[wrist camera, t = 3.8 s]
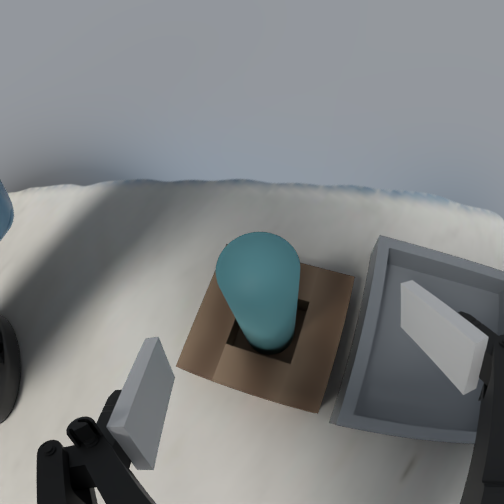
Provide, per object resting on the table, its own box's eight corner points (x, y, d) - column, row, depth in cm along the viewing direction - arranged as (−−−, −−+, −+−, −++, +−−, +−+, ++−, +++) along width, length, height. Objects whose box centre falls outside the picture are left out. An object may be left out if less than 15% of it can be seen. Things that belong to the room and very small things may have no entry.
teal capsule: (239, 346, 25) (203, 294, 14) (254, 302, 27) (233, 224, 16) (285, 360, 24) (286, 319, 13) (300, 315, 26) (309, 242, 15)
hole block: (189, 372, 25) (175, 366, 22) (233, 262, 30) (226, 243, 27) (313, 412, 22) (317, 413, 19) (347, 292, 27) (354, 276, 24)
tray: (329, 422, 22) (335, 424, 19) (370, 254, 29) (379, 235, 26) (483, 443, 18) (504, 444, 15) (501, 290, 25) (519, 276, 22)
